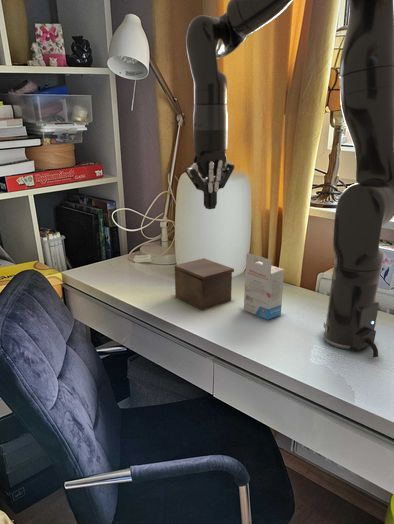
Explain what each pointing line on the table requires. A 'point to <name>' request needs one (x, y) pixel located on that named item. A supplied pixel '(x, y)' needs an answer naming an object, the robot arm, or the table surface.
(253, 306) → the ink box
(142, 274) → the table surface
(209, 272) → the chest lid
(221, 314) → the table surface
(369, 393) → the table surface
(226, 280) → the chest
